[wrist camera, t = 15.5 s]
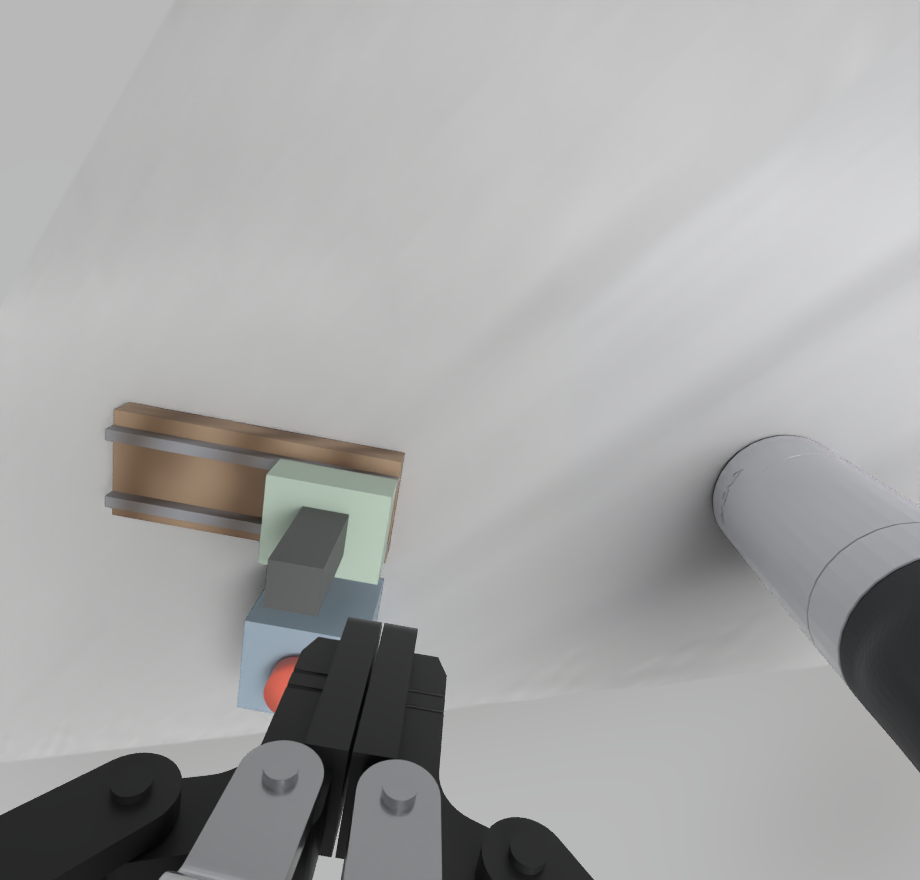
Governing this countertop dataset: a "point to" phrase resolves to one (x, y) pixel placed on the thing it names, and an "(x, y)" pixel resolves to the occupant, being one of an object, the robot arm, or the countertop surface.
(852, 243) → the countertop surface
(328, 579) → the carriage
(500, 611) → the countertop surface
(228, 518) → the rail track
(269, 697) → the button
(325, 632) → the button box
